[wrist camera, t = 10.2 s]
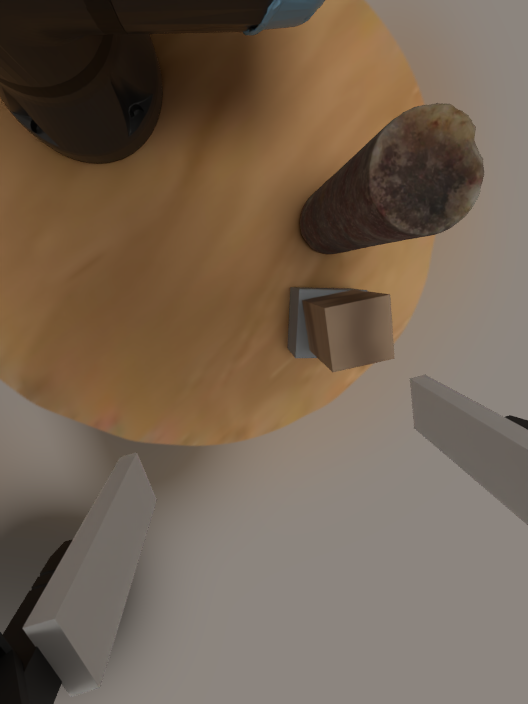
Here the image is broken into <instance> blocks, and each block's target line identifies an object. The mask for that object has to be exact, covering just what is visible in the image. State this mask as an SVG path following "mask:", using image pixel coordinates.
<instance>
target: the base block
mask: <svg viewBox="0 0 528 704" xmlns="http://www.w3.org/2000/svg"><path fill="white" fill-rule="evenodd" d="M349 290H359V289H349V288H304V287H291V288H290V309H289V330H288V349H289V351H290V352H291V353H292V354H293V356H294V357H295V358H317V357H316V356H315V355H314V354H313V353H312V352H311V351H310V350H309V343H308V336H307V330H306V323H305V317H304V310H303V303H302V300H305V299H310V298H315V297H320V296H325V295H329V294H334V293H339V292H344V291H349ZM359 291H367V290H359Z"/></svg>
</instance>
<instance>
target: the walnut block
mask: <svg viewBox="0 0 528 704" xmlns="http://www.w3.org/2000/svg"><path fill="white" fill-rule="evenodd" d="M302 303H303V310H304V317H305V323H306V330H307V336H308V343H309V350H310V351H311V352H312V353H313V354H314V355H315V356H316V357H317V358H318V359H319V360H320V361H321V362H322V363H324V364H325V365H326V366H327V367H328V368H329V369H330V370H331V371H332V372H336V371H341V370H345V369H350V368H354V367H359V366H363V365H368V364H372V363H377V362H381V361H385V360H390V359H394V344H393V329H392V314H391V299H390V294H382V293H375V292H367V291H359V290H349V291H344V292H339V293H334V294H329V295H325V296H320V297H315V298H310V299H305V300H302Z"/></svg>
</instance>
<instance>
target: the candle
mask: <svg viewBox="0 0 528 704" xmlns="http://www.w3.org/2000/svg"><path fill="white" fill-rule="evenodd" d="M475 130H476V127H475V125H474V124H473V123H472V120H471V119H470V118H469V116H468V115H467V114H465V113H464V112H463V111H460V110H458V109H456V108H455V107H454V106H452V105H451V104H438V103H436V104H431V105H422V106H417V107H414V108H412V109H410V110H408V111H405V112H403V113H402V114H401V115H400V116H398V117H396V118H395V119H393V120H392V121H391V122H390V123H389V124H388V125H387V126H385V127H384V128H383V129H382V130H381V131H380V132H379V133H378V134H377V135H376V136H375V137H374V138H372V139H371V140H370V141H369V142H368V143H367V144H366V145H365V146H364V147H363V148H362V149H361V150H360V151H359V152H358V153H357V154H356V155H355V156H353V157H352V158H351V159H350V160H349V161H348V162H347V163H346V164H345V165H344V166H343V167H342V168H341V169H340V170H339V171H338V172H336V173H335V174H334V175H333V176H332V177H331V178H330V179H329V180H327V181H326V182H325V183H324V184H323V185H322V186H321V187H320V188H319V189H318V190H317V191H316V192H315V193H313V194H312V195H311V196H310V198H309V199H308V200H307V202H306V203H305V205H304V207H303V209H302V213H301V219H300V227H301V233H302V235H303V237H304V239H305V240H306V242H307V243H308V244H309V246H311V248H313V249H314V250H315V251H317V252H320V253H323V254H335V253H341V252H347V251H351V250H356V249H360V248H366V247H370V246H375V245H381V244H386V243H391V242H397V241H402V240H406V239H413V238H418V237H424V236H430V235H435V234H438V233H441V232H443V231H445V230H447V229H449V228H451V227H452V226H454V225H455V224H456V223H458V222H459V221H460V220H462V219H463V218H464V217H465V216H466V215H467V214H468V212H469V211H470V210H471V209H472V207H473V205H474V204H475V202H476V200H477V198H478V196H479V194H480V188H481V184H482V181H483V177H484V167H483V158H482V157H481V155H480V154H479V151H478V148H477V146H476V144H475V141H474V136H475Z"/></svg>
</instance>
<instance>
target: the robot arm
mask: <svg viewBox="0 0 528 704" xmlns="http://www.w3.org/2000/svg"><path fill="white" fill-rule="evenodd" d="M324 1H325V0H0V97H1V99H2V100H3V102H4V103H5V105H6V106H7V108H8V109H9V110H10V112H11V113H12V114H13V115H14V116H15V118H16V119H17V120H18V121H19V122H20V123H21V124H22V125H23V126H24V127H25V128H26V129H27V130H28V131H29V132H31V133H32V134H33V135H34V136H36V137H37V138H38V139H40V140H41V141H43V142H44V143H45V144H47V145H48V146H49V147H51V148H52V149H54V150H56V151H57V152H59V153H61V154H63V155H65V156H67V157H70V158H72V159H75V160H79V161H83V162H89V163H108V162H113V161H117V160H120V159H122V158H125V157H127V156H129V155H130V154H132V153H133V152H135V151H136V150H137V149H139V148H140V147H141V146H142V145H143V144H144V143H145V141H146V140H147V139H148V138H149V136H150V135H151V133H152V131H153V130H154V127H155V125H156V123H157V120H158V117H159V114H160V110H161V104H162V77H161V71H160V66H159V62H158V59H157V56H156V53H155V50H154V47H153V43H152V41H151V38H150V35H149V34H168V33H209V32H243V33H244V34H245V35H255V34H258V33H259V32H261V31H262V30H266V29H276V28H287V27H295V26H298V25H301V24H303V23H305V22H306V21H308V20H309V19H310V17H311V16H312V15H313V14H314V13H315V12H316V10H317V9H318V8H320V7H321V5H322V4H323V3H324ZM410 386H411V396H412V408H413V419H414V428H415V429H416V430H417V431H418V432H419V433H420V434H422V435H423V436H424V437H425V438H426V439H428V440H429V441H430V442H431V443H432V444H433V445H435V446H436V447H437V448H438V449H439V450H440V451H442V452H443V453H444V454H445V455H446V456H447V457H449V458H450V459H451V460H452V461H453V462H454V463H456V464H457V465H458V466H459V467H460V468H462V469H463V470H464V471H465V472H466V473H467V474H468V475H470V476H471V477H472V478H473V479H474V480H475V481H477V482H478V483H479V484H480V485H481V486H483V487H484V488H485V489H486V490H487V491H489V492H490V493H491V494H492V495H493V496H494V497H495V498H497V499H498V500H499V501H500V502H501V503H503V504H504V505H505V506H506V507H507V508H508V509H509V510H511V511H512V512H513V513H514V514H515V515H516V516H518V517H519V518H520V519H521V520H522V521H524V522H525V523H526V524H527V525H528V420H524V419H521V418H517V417H514V416H506V417H503V416H501V415H499V414H497V413H496V412H494V411H492V410H490V409H488V408H486V407H484V406H483V405H481V404H479V403H477V402H475V401H473V400H471V399H470V398H468V397H466V396H464V395H462V394H460V393H458V392H457V391H455V390H453V389H451V388H449V387H447V386H445V385H443V384H442V383H440V382H438V381H436V380H434V379H432V378H430V377H428V376H427V375H422V376H418V377H414V378H411V379H410ZM156 501H157V499H156V496H155V494H154V492H153V489H152V487H151V485H150V482H149V480H148V477H147V475H146V473H145V470H144V468H143V466H142V463H141V461H140V459H139V456H138V454H137V452H136V453H133V454H129V455H125V456H121V457H120V458H119V460H118V461H117V463H116V465H115V467H114V468H113V470H112V472H111V474H110V476H109V477H108V479H107V481H106V482H105V484H104V486H103V488H102V490H101V491H100V493H99V495H98V497H97V498H96V500H95V502H94V503H93V505H92V507H91V509H90V511H89V512H88V514H87V516H86V518H85V519H84V521H83V523H82V525H81V526H80V528H79V530H78V532H77V533H76V535H75V537H74V539H73V540H69V541H65V542H64V543H63V544H62V545H61V546H60V547H59V548H58V550H56V551H55V553H54V554H53V555H52V556H51V557H50V558H49V560H48V562H47V563H46V565H45V567H44V568H43V570H42V571H41V573H40V577H38V578H37V579H36V581H35V583H34V584H33V586H32V590H31V591H29V593H28V594H27V596H26V597H25V599H24V601H23V602H22V604H21V605H20V607H19V609H18V610H17V612H16V614H15V615H14V617H13V619H12V620H11V622H10V623H9V625H8V627H7V628H6V630H5V632H4V633H3V635H2V634H1V632H0V704H53V703H54V701H55V698H56V696H57V693H58V691H59V688H60V686H61V684H62V685H63V686H64V688H65V689H66V691H67V692H68V693H69V695H70V696H71V697H72V696H75V695H79V694H82V693H85V692H88V691H92V690H95V689H98V688H100V686H101V682H102V679H103V676H104V672H105V669H106V666H107V663H108V659H109V656H110V653H111V649H112V646H113V643H114V639H115V636H116V633H117V629H118V626H119V623H120V620H121V617H122V613H123V610H124V607H125V603H126V600H127V597H128V593H129V590H130V587H131V584H132V580H133V577H134V574H135V570H136V567H137V564H138V561H139V557H140V554H141V551H142V548H143V544H144V541H145V538H146V534H147V531H148V528H149V525H150V521H151V518H152V515H153V511H154V508H155V505H156Z"/></svg>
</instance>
